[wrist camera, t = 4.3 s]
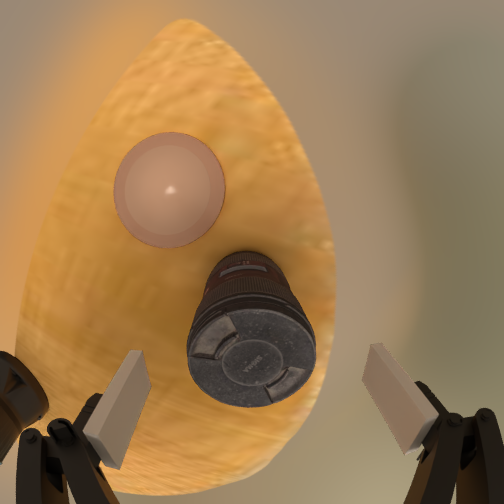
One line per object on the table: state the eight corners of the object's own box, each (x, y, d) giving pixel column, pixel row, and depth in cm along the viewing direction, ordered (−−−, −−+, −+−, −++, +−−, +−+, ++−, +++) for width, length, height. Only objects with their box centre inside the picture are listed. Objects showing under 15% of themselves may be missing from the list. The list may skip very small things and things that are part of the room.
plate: (119, 247, 28) (116, 249, 27) (116, 140, 25) (113, 139, 24) (225, 246, 28) (225, 247, 28) (224, 130, 26) (224, 128, 25)
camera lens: (194, 291, 29) (160, 377, 15) (234, 230, 28) (231, 274, 14) (255, 327, 31) (268, 425, 16) (297, 271, 29) (347, 344, 15)
